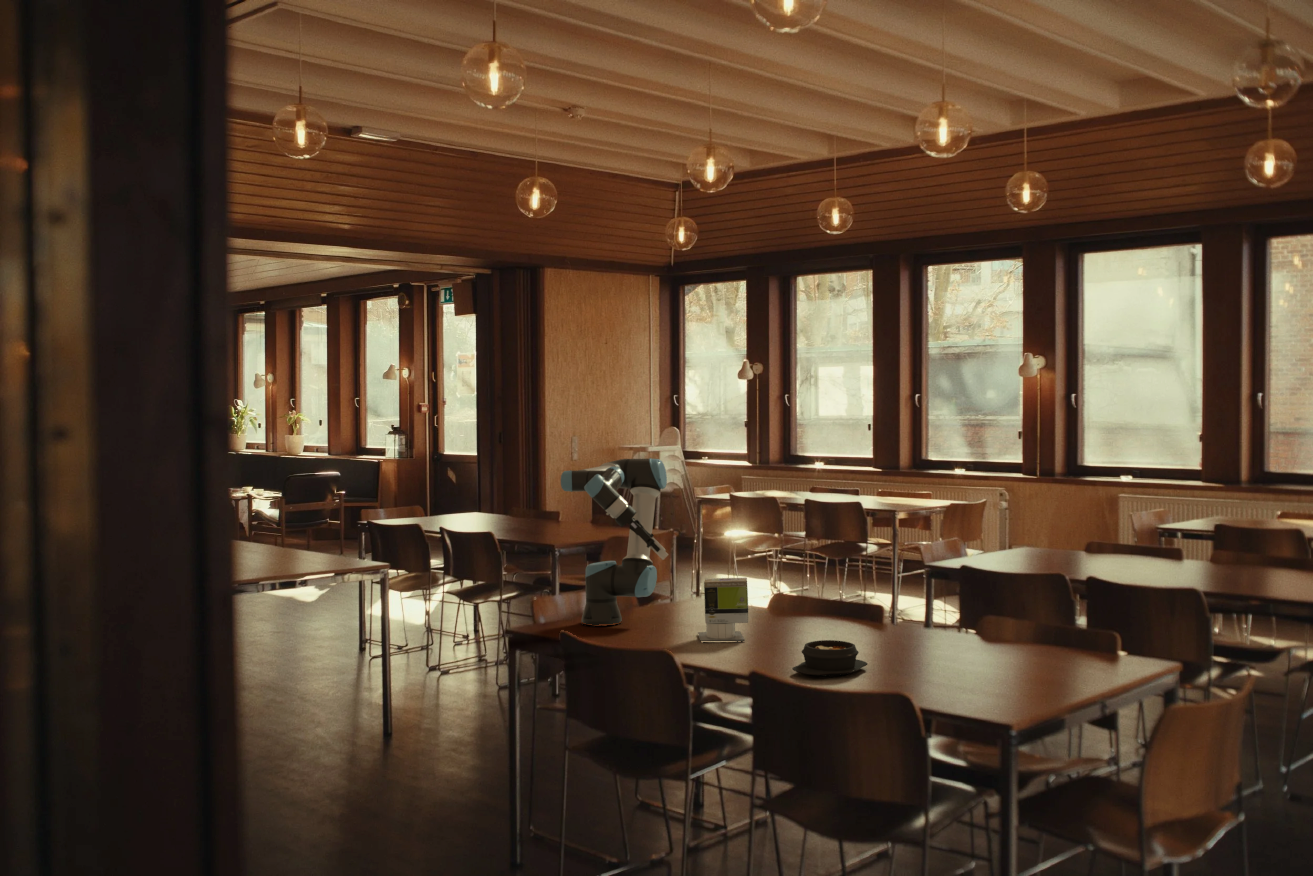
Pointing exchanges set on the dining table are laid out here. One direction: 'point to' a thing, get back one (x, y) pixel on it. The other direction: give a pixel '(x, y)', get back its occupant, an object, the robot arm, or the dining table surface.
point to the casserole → (829, 658)
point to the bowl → (721, 632)
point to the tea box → (726, 600)
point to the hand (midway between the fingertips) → (664, 555)
